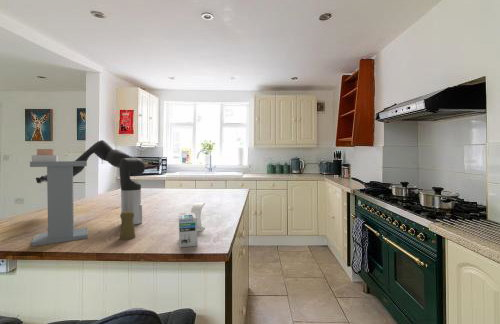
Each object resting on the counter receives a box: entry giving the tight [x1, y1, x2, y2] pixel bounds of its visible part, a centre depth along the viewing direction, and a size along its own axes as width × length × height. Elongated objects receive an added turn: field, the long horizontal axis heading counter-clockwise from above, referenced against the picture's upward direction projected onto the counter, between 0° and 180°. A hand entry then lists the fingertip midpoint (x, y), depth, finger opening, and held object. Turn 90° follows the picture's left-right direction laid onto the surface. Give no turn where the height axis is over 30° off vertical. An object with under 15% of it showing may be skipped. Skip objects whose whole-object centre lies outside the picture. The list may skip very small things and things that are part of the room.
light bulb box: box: [178, 212, 198, 248], centre depth 100 cm, size 11×7×11 cm, turn 16°
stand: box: [29, 154, 89, 247], centre depth 107 cm, size 18×13×34 cm
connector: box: [36, 148, 55, 155], centre depth 109 cm, size 5×17×5 cm, turn 33°
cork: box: [118, 211, 136, 241], centre depth 107 cm, size 6×6×11 cm
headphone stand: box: [190, 202, 206, 232], centre depth 118 cm, size 5×6×12 cm
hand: (53, 176), depth 126 cm, fingers open, 8 cm apart
